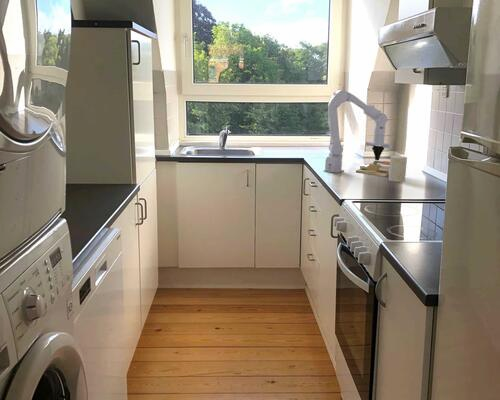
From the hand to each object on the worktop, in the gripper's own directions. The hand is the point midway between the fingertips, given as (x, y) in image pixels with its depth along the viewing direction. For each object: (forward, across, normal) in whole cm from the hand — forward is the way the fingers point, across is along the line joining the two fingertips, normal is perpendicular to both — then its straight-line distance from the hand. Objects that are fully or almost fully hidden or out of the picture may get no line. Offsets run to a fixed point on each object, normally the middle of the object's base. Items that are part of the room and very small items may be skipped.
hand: (377, 160), depth 308 cm
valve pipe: (+7, -1, +4) cm, 8 cm away
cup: (+7, -19, +16) cm, 26 cm away
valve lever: (+2, -6, +5) cm, 8 cm away
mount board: (+7, -1, +4) cm, 8 cm away
